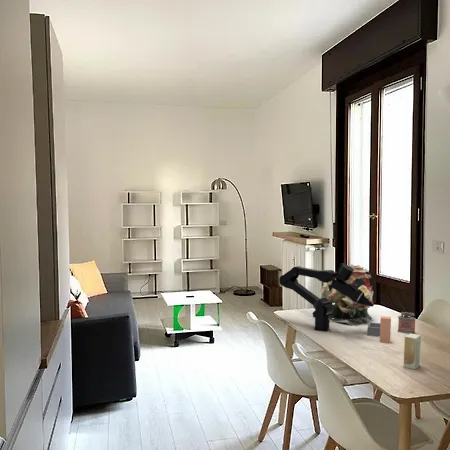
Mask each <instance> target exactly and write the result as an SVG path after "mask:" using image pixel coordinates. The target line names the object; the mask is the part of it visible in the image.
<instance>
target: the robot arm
mask: <svg viewBox="0 0 450 450" xmlns="http://www.w3.org/2000/svg"><path fill="white" fill-rule="evenodd" d="M353 271H354V269H353V268H352V267H351V266H349V265H348V264H345V263H344V262H342V263H340V264H339V267H338V269H337V270H336V271H335V270H333V269H323V270H322V269H321V270H318V269H313V268H307V267H302V266H300V265H297V266H293V267H292V268H291V269H290V270H288V271H286V272H285V273H284V274H282V275H280V276H279V278H278V280H279V285H280V286H282V287H284V288H285V289H289V290H292V291H293V292H295V293H296V294H297V295H298V296H300V297H302V298H303V299H304V300H305V301H307V302H308V303H309V304H310V305H312V306H313V308H314V311H313V312H312V317H313V318H314V319H315V320H314V328H313V330H314V331H324V332H328V331H329V329H330V322H331V321H330V320H331V319H329V316H331V313H332V312H333V311H334V307H333V305H334V303H331V301H329V300H328V299H327V298H322V297H321V298H320V297H319V296H317V295H316V294H314V293H313V292H311V291H310V290H309V289H307V287H305V286H303V285H302V284H301V283H300V282H299V280H298V278H299V276H304V277H307V278H314V279H316V280H318V281H320V282H321V283H325V284H326V283H327V282H332V283H331V284H329V285H328V287H329V291H331V290H332V289H333V288H334V289H335V290H337V291H339V292H340V293H342V294H343V295H345V296H347V297H348V298H350V299H352V301H353V302H355V303H356V302H357V303H358V304H363V305H367V306H371V307H374V305H375V304H373V303H374V302H373V303H371V302H370V301H369V300H368V299H367V298H366V297H365V295H364V292H362V291H361V290H360V289H358V288H359V287H360V286H362V285H364V284H365V283H366V282H365V281H364V280H363V279H362V277H361V278H360V279H358V278H357V279H356V280H355V283H354V284H352V285H351V284H348V283H347V282H345V281H346V280H349V278H350V276H351V275H352V273H353ZM335 279H336V280H335Z"/></svg>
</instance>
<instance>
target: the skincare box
mask: <svg viewBox="0 0 450 450" xmlns="http://www.w3.org/2000/svg"><path fill="white" fill-rule="evenodd" d="M421 337H422V336H421V334H416V333H415V334H411V333H410V334H408V333H407V335H405V336H404V351H403V367H404V368H407V369H411V370H416V369H417V368H418V367H420V364H421V342H422V341H421V339H422V338H421Z"/></svg>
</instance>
